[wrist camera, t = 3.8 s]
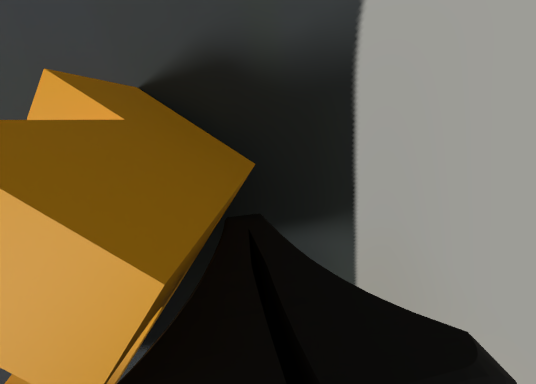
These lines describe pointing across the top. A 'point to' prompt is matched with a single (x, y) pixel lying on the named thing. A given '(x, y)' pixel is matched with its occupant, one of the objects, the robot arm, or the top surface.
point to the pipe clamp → (99, 224)
